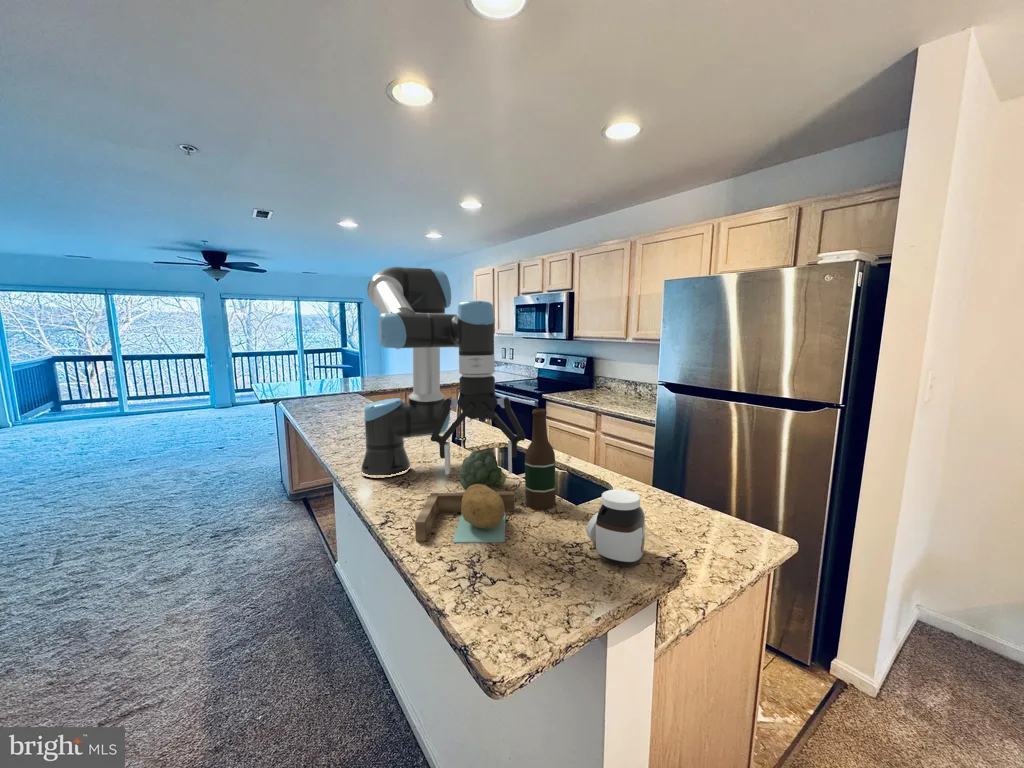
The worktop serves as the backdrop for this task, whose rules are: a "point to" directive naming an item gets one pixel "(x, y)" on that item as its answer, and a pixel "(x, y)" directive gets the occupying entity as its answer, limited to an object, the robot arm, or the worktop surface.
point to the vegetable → (481, 470)
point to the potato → (482, 507)
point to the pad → (478, 532)
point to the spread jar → (619, 528)
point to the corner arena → (449, 509)
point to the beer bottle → (540, 466)
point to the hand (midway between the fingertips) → (479, 472)
